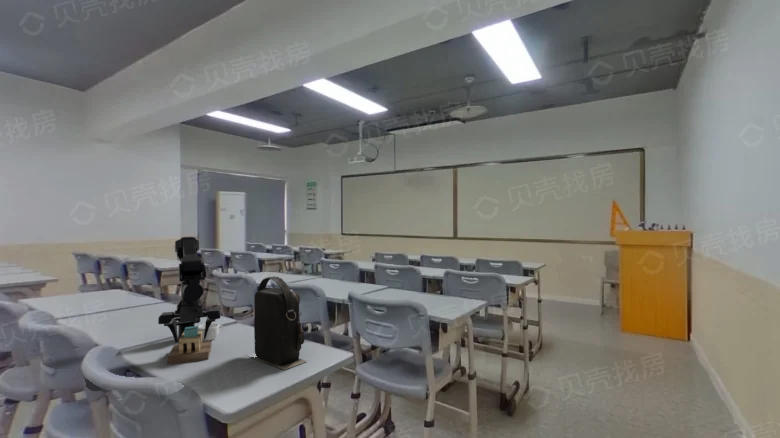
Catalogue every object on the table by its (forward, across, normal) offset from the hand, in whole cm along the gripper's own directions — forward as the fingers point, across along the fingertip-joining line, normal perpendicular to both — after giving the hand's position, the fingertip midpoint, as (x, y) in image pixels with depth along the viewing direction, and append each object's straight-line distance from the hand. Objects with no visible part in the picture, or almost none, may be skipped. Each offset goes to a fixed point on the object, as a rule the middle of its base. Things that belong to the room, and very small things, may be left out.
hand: (190, 340), depth 126 cm
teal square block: (-2, 0, 0) cm, 2 cm away
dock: (+5, 0, 0) cm, 5 cm away
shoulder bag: (+5, +27, -14) cm, 31 cm away
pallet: (+3, 0, 0) cm, 3 cm away
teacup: (+6, +5, +18) cm, 20 cm away
